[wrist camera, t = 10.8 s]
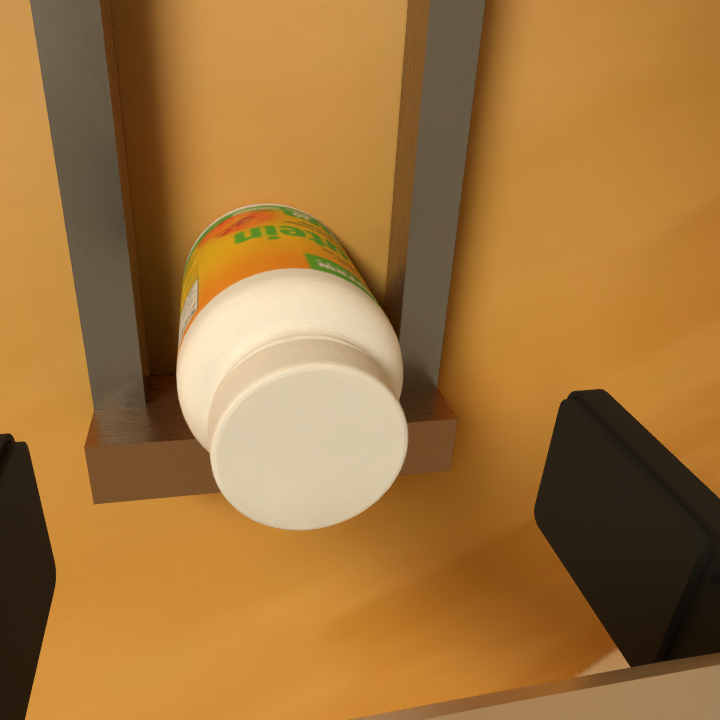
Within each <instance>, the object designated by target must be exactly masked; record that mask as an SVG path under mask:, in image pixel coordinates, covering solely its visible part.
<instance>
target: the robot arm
mask: <svg viewBox="0 0 720 720" xmlns="http://www.w3.org/2000/svg"><path fill="white" fill-rule="evenodd" d="M534 514H535V520H536V523H537V525H538V527H539V528H540V530H541V532H542V533H543V535H544V536H545V538H546V539H547V541H548V542H549V544H550V545H551V547H552V548H553V550H554V551H555V553H556V554H557V556H558V557H559V559H560V560H561V562H562V563H563V565H564V567H565V568H566V570H567V571H568V573H569V574H570V576H571V577H572V579H573V580H574V582H575V583H576V585H577V586H578V588H579V589H580V591H581V592H582V594H583V595H584V597H585V598H586V600H587V602H588V603H589V605H590V606H591V608H592V609H593V611H594V612H595V614H596V615H597V617H598V618H599V620H600V621H601V623H602V624H603V626H604V627H605V629H606V630H607V632H608V633H609V635H610V636H611V638H612V640H613V641H614V643H615V644H616V646H617V647H618V649H619V650H620V652H621V653H622V655H623V656H624V658H625V659H626V661H627V662H628V664H629V665H630V667H631V668H626V669H620V670H615V671H610V672H605V673H599V674H593V675H587V676H582V677H576V678H571V679H565V680H560V681H554V682H548V683H543V684H537V685H532V686H527V687H521V688H516V689H510V690H505V691H500V692H494V693H489V694H483V695H478V696H473V697H467V698H462V699H457V700H451V701H446V702H440V703H435V704H430V705H424V706H419V707H414V708H409V709H403V710H398V711H393V712H387V713H382V714H377V715H371V716H366V717H361V718H355V719H350V720H720V499H719V498H718V497H717V496H716V495H715V494H714V493H713V492H712V491H711V490H710V489H709V488H708V487H707V486H706V485H705V484H703V483H702V482H701V481H700V480H699V479H698V478H697V477H696V476H695V475H694V474H693V473H692V472H691V471H690V470H689V469H688V468H687V467H686V466H685V465H683V464H682V463H681V462H680V461H679V460H678V459H677V458H676V457H675V456H674V455H673V454H672V453H671V452H670V451H669V450H668V449H667V448H666V447H664V446H663V445H662V444H661V443H660V442H659V441H658V440H657V439H656V438H655V437H654V436H653V435H652V434H651V433H650V432H649V431H648V430H647V429H645V428H644V427H643V426H642V425H641V424H640V423H639V422H638V421H637V420H636V419H635V418H634V417H633V416H632V415H631V414H630V413H629V412H628V411H626V410H625V409H624V408H623V407H622V406H621V405H620V404H619V403H618V402H617V401H616V400H615V399H614V398H613V397H612V396H611V395H610V394H609V393H607V392H606V391H605V390H602V389H595V390H582V391H573V392H571V393H570V394H569V396H568V398H567V399H565V400H563V401H562V402H561V404H560V407H559V410H558V414H557V418H556V423H555V427H554V431H553V435H552V439H551V443H550V447H549V451H548V455H547V459H546V463H545V467H544V471H543V475H542V479H541V483H540V487H539V491H538V495H537V499H536V503H535V509H534ZM55 583H56V567H55V561H54V557H53V553H52V548H51V544H50V540H49V535H48V531H47V527H46V522H45V518H44V514H43V509H42V505H41V501H40V496H39V492H38V488H37V483H36V479H35V475H34V470H33V466H32V462H31V457H30V453H29V449H28V446H27V444H26V442H15V440H14V438H13V436H12V435H11V434H0V720H25V716H26V712H27V707H28V703H29V699H30V694H31V690H32V685H33V681H34V677H35V672H36V668H37V664H38V659H39V655H40V650H41V646H42V642H43V637H44V633H45V629H46V624H47V620H48V615H49V611H50V607H51V602H52V598H53V593H54V589H55Z"/></svg>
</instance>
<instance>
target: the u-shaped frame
mask: <svg viewBox="0 0 720 720" xmlns="http://www.w3.org/2000/svg"><path fill="white" fill-rule="evenodd" d="M30 3H31V10H32V16H33V22H34V29H35V35H36V42H37V48H38V54H39V61H40V67H41V73H42V80H43V86H44V93H45V99H46V105H47V112H48V118H49V124H50V131H51V137H52V144H53V150H54V156H55V163H56V169H57V175H58V182H59V188H60V195H61V201H62V207H63V214H64V220H65V226H66V233H67V239H68V246H69V252H70V258H71V265H72V271H73V277H74V284H75V290H76V296H77V303H78V309H79V316H80V322H81V328H82V335H83V341H84V347H85V354H86V360H87V367H88V373H89V379H90V386H91V392H92V398H93V405H94V413H93V417H92V420H91V424H90V428H89V432H88V435H87V439H86V443H85V447H84V449H85V455H86V461H87V466H88V472H89V478H90V484H91V490H92V496H93V502H94V504H102V503H113V502H123V501H134V500H144V499H155V498H165V497H176V496H186V495H197V494H207V493H218V492H221V491H220V489H219V487H218V485H217V483H216V481H215V478H214V476H213V472H212V466H211V461H210V453H209V452H208V451H207V450H206V449H205V448H204V447H203V446H202V445H201V444H200V443H199V441H198V440H197V439H196V438H195V436H194V435H193V433H192V432H191V430H190V428H189V426H188V424H187V422H186V420H185V418H184V416H183V413H182V409H181V406H180V402H179V398H178V391H177V377H176V374H173V375H155V376H150V371H149V361H148V352H147V343H146V333H145V324H144V315H143V306H142V296H141V287H140V278H139V268H138V259H137V250H136V241H135V231H134V222H133V213H132V203H131V194H130V185H129V176H128V166H127V157H126V148H125V138H124V129H123V120H122V111H121V101H120V92H119V83H118V73H117V64H116V55H115V46H114V36H113V27H112V18H111V8H110V0H30ZM484 8H485V0H408V10H407V23H406V36H405V49H404V62H403V75H402V88H401V101H400V114H399V127H398V140H397V153H396V166H395V179H394V192H393V205H392V218H391V231H390V244H389V257H388V270H387V283H386V296H385V309H384V313H385V314H386V316H387V318H388V319H389V321H390V323H391V325H392V327H393V329H394V331H395V334H396V336H397V339H398V342H399V345H400V349H401V355H402V362H403V384H402V390H401V395H400V398H399V402H400V404H401V406H402V409H403V411H404V414H405V417H406V421H407V426H408V447H407V453H406V457H405V460H404V464H403V466H402V468H401V470H400V472H399V474H398V475H407V474H418V473H428V472H439V471H449V470H450V468H451V461H452V454H453V447H454V440H455V433H456V426H457V417H456V416H455V414H454V413H453V411H452V410H451V408H450V407H449V405H448V403H447V402H446V400H445V399H444V397H443V396H442V394H441V393H440V391H439V390H438V388H437V385H438V377H439V369H440V361H441V353H442V345H443V337H444V329H445V321H446V313H447V305H448V297H449V289H450V281H451V273H452V265H453V257H454V248H455V240H456V232H457V224H458V216H459V208H460V200H461V192H462V184H463V176H464V168H465V160H466V152H467V144H468V136H469V128H470V120H471V112H472V104H473V96H474V88H475V80H476V72H477V64H478V56H479V48H480V40H481V32H482V24H483V16H484Z"/></svg>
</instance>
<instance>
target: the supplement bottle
mask: <svg viewBox="0 0 720 720" xmlns="http://www.w3.org/2000/svg"><path fill="white" fill-rule="evenodd" d="M176 377H177V391H178V398H179V402H180V406H181V409H182V413H183V416H184V418H185V420H186V422H187V424H188V426H189V428H190V430H191V432H192V433H193V435H194V436H195V438H196V439H197V440H198V441H199V443H200V444H201V445H202V446H203V447H204V448H205V449H206V450H207V451H208V452H209V453H210V461H211V466H212V472H213V476H214V478H215V481H216V483H217V485H218V487H219V489H220V491H221V492H222V494H223V495H224V497H225V498H226V499H227V500H228V501H229V503H230V504H231V505H232V506H233V507H234V508H236V509H237V510H238V511H239V512H240V513H242V514H244V515H245V516H247V517H248V518H250V519H252V520H254V521H256V522H259V523H261V524H263V525H266V526H270V527H274V528H278V529H285V530H312V529H319V528H324V527H328V526H332V525H335V524H338V523H341V522H343V521H346V520H348V519H350V518H352V517H354V516H356V515H358V514H360V513H361V512H363V511H364V510H366V509H367V508H369V507H370V506H371V505H373V504H374V503H375V502H376V501H378V500H379V499H380V498H381V497H382V495H383V494H384V493H385V492H386V491H387V490H388V489H389V488H390V487H391V485H392V484H393V482H394V481H395V479H396V478H397V476H398V474H399V472H400V470H401V468H402V466H403V464H404V460H405V457H406V453H407V447H408V426H407V421H406V417H405V414H404V411H403V409H402V406H401V404H400V402H399V398H400V395H401V390H402V384H403V362H402V355H401V349H400V345H399V342H398V339H397V336H396V334H395V331H394V329H393V327H392V325H391V323H390V321H389V319H388V318H387V316H386V314H385V313H384V311H383V310H382V308H381V307H380V305H379V303H378V302H377V300H376V299H375V297H374V296H373V294H372V293H371V291H370V290H369V288H368V287H367V285H366V283H365V281H364V280H363V278H362V277H361V275H360V274H359V272H358V271H357V269H356V268H355V266H354V265H353V263H352V261H351V260H350V258H349V257H348V255H347V253H346V252H345V250H344V248H343V247H342V245H341V244H340V242H339V241H338V240H337V238H336V237H335V236H334V234H333V233H332V232H331V231H330V230H329V229H328V228H327V227H326V226H325V225H324V224H323V223H322V222H320V221H319V220H318V219H316V218H315V217H313V216H312V215H310V214H308V213H306V212H304V211H302V210H300V209H297V208H294V207H291V206H287V205H282V204H274V203H262V204H252V205H248V206H244V207H240V208H237V209H235V210H232V211H230V212H228V213H226V214H224V215H223V216H221V217H219V218H218V219H217V220H215V221H214V222H213V223H211V224H210V225H209V226H208V227H207V228H206V229H205V230H204V231H203V232H202V233H201V235H200V236H199V237H198V239H197V240H196V242H195V243H194V245H193V247H192V249H191V251H190V253H189V256H188V258H187V261H186V265H185V269H184V274H183V281H182V294H181V313H180V326H179V343H178V354H177V371H176Z"/></svg>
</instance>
